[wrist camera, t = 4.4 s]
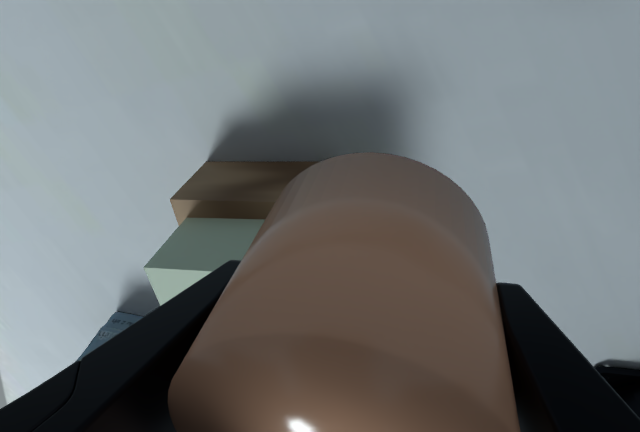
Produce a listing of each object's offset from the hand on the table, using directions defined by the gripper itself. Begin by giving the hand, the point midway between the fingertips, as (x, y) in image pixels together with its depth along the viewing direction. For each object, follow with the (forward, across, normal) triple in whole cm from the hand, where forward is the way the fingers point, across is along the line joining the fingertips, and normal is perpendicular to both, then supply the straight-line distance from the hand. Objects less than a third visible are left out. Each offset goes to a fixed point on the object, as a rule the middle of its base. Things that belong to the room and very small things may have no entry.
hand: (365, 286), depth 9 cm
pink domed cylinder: (+1, 0, 0) cm, 1 cm away
